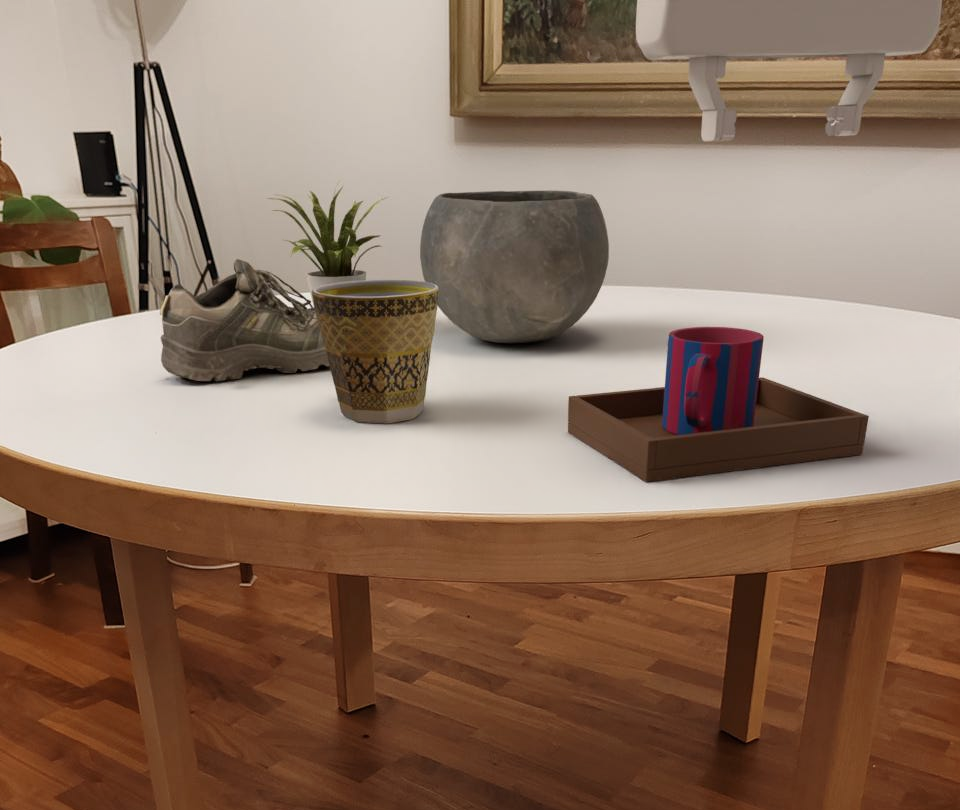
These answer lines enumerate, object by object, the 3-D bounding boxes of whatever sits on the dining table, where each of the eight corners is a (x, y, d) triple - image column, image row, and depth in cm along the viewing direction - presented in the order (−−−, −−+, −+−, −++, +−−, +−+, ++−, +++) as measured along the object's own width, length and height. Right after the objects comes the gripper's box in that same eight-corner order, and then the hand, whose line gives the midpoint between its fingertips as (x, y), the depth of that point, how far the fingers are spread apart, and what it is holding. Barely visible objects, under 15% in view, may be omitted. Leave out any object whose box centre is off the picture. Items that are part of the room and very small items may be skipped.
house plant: (246, 334, 116) (228, 182, 108) (308, 315, 127) (295, 176, 120) (352, 341, 111) (341, 182, 103) (407, 321, 122) (400, 176, 115)
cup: (763, 422, 75) (774, 330, 72) (722, 457, 67) (732, 355, 64) (680, 412, 78) (687, 323, 75) (631, 444, 70) (637, 346, 67)
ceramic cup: (464, 416, 81) (461, 289, 76) (354, 436, 76) (344, 301, 71) (391, 387, 91) (385, 272, 86) (290, 402, 86) (277, 282, 81)
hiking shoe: (390, 342, 98) (345, 227, 97) (191, 395, 89) (139, 268, 88) (360, 374, 106) (318, 268, 105) (175, 425, 97) (127, 310, 96)
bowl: (397, 353, 104) (389, 199, 98) (456, 321, 122) (453, 188, 115) (585, 362, 99) (591, 199, 92) (619, 327, 117) (626, 188, 110)
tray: (758, 411, 81) (763, 377, 80) (862, 454, 70) (869, 415, 69) (567, 432, 76) (568, 396, 75) (645, 482, 65) (648, 440, 64)
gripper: (914, -107, 64) (880, 133, 70) (628, -118, 58) (620, 144, 64) (988, -130, 58) (944, 132, 65) (681, -145, 53) (667, 144, 59)
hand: (780, 138), depth 64 cm, fingers open, 8 cm apart
